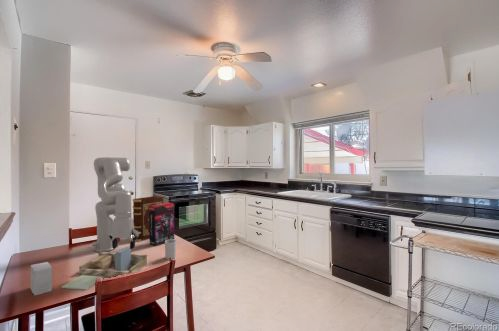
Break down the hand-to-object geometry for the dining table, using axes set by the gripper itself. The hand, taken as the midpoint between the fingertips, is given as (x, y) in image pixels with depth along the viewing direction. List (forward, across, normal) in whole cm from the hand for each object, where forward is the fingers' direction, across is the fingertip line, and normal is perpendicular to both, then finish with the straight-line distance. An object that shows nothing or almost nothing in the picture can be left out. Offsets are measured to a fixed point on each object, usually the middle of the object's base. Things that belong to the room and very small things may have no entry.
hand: (123, 248), depth 134 cm
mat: (+12, -11, -15) cm, 22 cm away
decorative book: (+11, -18, +57) cm, 61 cm away
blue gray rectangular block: (+12, -1, +1) cm, 12 cm away
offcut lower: (+12, -13, +1) cm, 18 cm away
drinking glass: (+12, +16, +21) cm, 29 cm away
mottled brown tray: (+12, -6, +1) cm, 13 cm away
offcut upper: (+9, -13, +1) cm, 16 cm away
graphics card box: (+11, -2, +47) cm, 48 cm away
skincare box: (+12, -25, -23) cm, 36 cm away
